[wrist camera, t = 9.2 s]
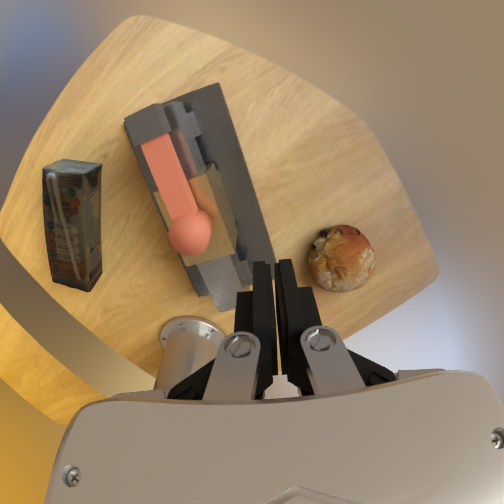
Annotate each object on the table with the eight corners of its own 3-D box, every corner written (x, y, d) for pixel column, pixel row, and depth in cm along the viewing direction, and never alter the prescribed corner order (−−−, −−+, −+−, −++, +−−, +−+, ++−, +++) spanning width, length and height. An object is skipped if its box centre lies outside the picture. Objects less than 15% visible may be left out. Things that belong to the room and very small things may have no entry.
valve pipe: (280, 273, 42) (285, 310, 35) (199, 292, 44) (190, 330, 36) (219, 83, 29) (209, 75, 22) (126, 121, 31) (94, 128, 23)
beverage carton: (106, 161, 34) (81, 173, 28) (105, 274, 43) (89, 297, 37) (63, 156, 33) (37, 168, 27) (68, 263, 42) (50, 285, 36)
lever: (217, 237, 30) (214, 249, 27) (184, 247, 30) (178, 260, 28) (165, 101, 23) (155, 101, 20) (130, 118, 23) (117, 120, 21)
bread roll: (309, 268, 46) (323, 311, 41) (294, 233, 38) (311, 283, 33) (364, 247, 44) (383, 288, 39) (360, 208, 36) (385, 254, 31)
